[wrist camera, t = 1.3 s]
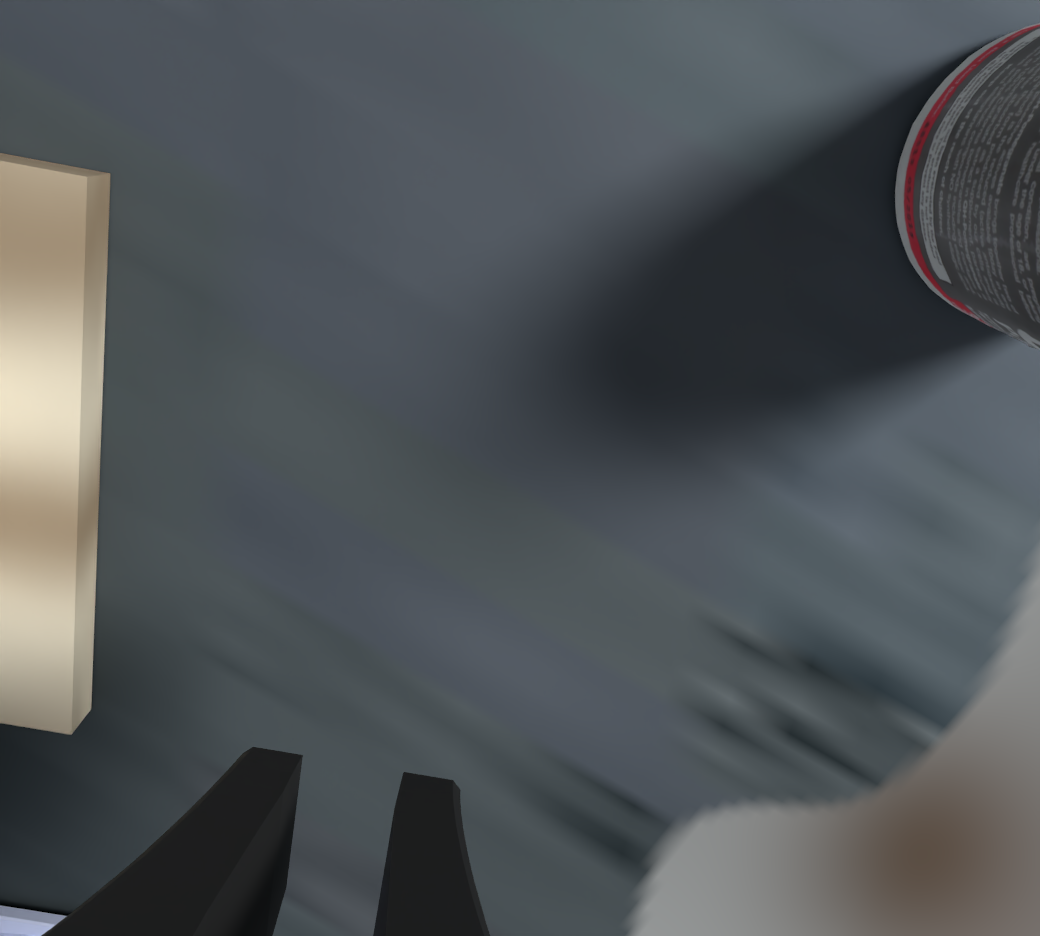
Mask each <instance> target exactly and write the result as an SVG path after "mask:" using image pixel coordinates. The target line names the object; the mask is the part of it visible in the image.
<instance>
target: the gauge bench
mask: <svg viewBox="0 0 1040 936" xmlns="http://www.w3.org/2000/svg"><path fill="white" fill-rule="evenodd" d="M109 199H110V173H105V172H99V171H94V170H89V169H83V168H78V167H72V166H67V165H62V164H56V163H51V162H46V161H40V160H35V159H30V158H24V157H19V156H14V155H8V154H3V153H0V723H3V724H9V725H15V726H22V727H28V728H34V729H40V730H46V731H52V732H58V733H64V734H70V735H72V734H73V732H74V731H75V730H76V728H77V727H78V726H79V724H80V723H81V722H82V720H83V719H84V718H85V716H86V715H87V714H88V713H89V711H90V710H91V702H92V674H93V646H94V618H95V590H96V563H97V535H98V507H99V479H100V451H101V423H102V395H103V367H104V339H105V311H106V283H107V255H108V227H109Z"/></svg>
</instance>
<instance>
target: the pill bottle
mask: <svg viewBox="0 0 1040 936" xmlns="http://www.w3.org/2000/svg"><path fill="white" fill-rule="evenodd" d="M895 209H896V219H897V226H898V229H899V233H900V236H901V240H902V243H903V246H904V248H905V251H906V253H907V256H908V258H909V260H910V262H911V264H912V265H913V267H914V268H915V270H916V271H917V273H918V274H919V276H920V277H921V278H922V279H923V281H924V282H925V283H926V284H927V286H928V287H929V288H930V289H931V290H932V291H933V292H935V293H936V294H937V295H938V296H940V297H941V298H942V299H944V300H945V301H946V302H948V303H949V304H950V305H952V306H953V307H955V308H957V309H958V310H960V311H962V312H964V313H966V314H968V315H969V316H971V317H973V318H975V319H977V320H979V321H981V322H982V323H984V324H986V325H988V326H990V327H992V328H994V329H996V330H999V331H1001V332H1003V333H1005V334H1007V335H1009V336H1011V337H1013V338H1015V339H1017V340H1020V341H1021V342H1023V343H1024V344H1026V345H1028V346H1029V347H1032V348H1035V349H1038V350H1040V23H1038V24H1035V25H1031V26H1028V27H1024V28H1022V29H1019V30H1017V31H1014V32H1011V33H1009V34H1007V35H1005V36H1003V37H1000V38H998V39H996V40H994V41H993V42H991V43H989V44H987V45H985V46H984V47H982V48H981V49H979V50H978V51H976V52H975V53H973V54H972V55H970V56H969V57H968V58H967V59H966V60H965V61H964V62H962V63H961V64H960V65H959V66H958V67H957V68H956V69H955V70H954V71H953V72H952V73H951V74H950V75H949V76H948V77H947V78H946V79H945V80H944V81H943V82H942V83H941V85H940V86H939V87H938V88H937V89H936V91H935V92H934V93H933V94H932V95H931V97H930V98H929V99H928V101H927V102H926V104H925V106H924V107H923V109H922V110H921V112H920V113H919V115H918V117H917V118H916V120H915V121H914V123H913V125H912V127H911V130H910V133H909V135H908V138H907V140H906V143H905V146H904V149H903V152H902V155H901V157H900V162H899V166H898V170H897V179H896V188H895Z"/></svg>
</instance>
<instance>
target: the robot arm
mask: <svg viewBox="0 0 1040 936" xmlns="http://www.w3.org/2000/svg"><path fill="white" fill-rule="evenodd" d="M302 756H303V755H298V754H292V753H286V752H280V751H274V750H268V749H262V748H256V747H252V748H251V749H249V750H247V751H246V752H244V753H243V754H242V755H241V756H240V757H239V758H238V759H237V761H236V762H235V763H234V764H233V765H232V766H231V767H230V768H229V769H228V771H227V772H226V773H225V774H224V775H223V776H222V777H221V778H220V779H219V780H218V781H217V782H216V783H215V784H214V785H213V786H212V787H211V788H210V790H209V791H208V792H207V793H206V794H205V795H204V796H203V797H202V798H201V799H200V800H199V801H198V802H197V803H196V804H195V805H194V806H193V807H192V808H191V809H190V810H189V811H188V812H187V813H186V814H184V815H183V816H182V817H181V818H180V819H179V820H178V821H177V822H176V823H175V824H174V825H173V826H172V827H171V828H170V829H168V830H167V831H166V832H165V833H164V834H163V835H162V836H161V837H160V838H159V839H158V840H157V841H156V842H154V843H153V844H152V845H151V846H150V847H149V848H148V849H147V850H146V851H145V852H144V853H143V854H141V855H140V856H139V857H138V858H137V859H136V860H135V861H134V862H132V863H131V864H130V865H129V866H128V867H126V868H125V869H124V870H123V871H122V872H120V873H119V874H118V875H117V876H116V877H114V878H113V879H112V880H111V881H110V882H108V883H107V884H106V885H105V886H104V887H102V888H101V889H100V890H99V891H98V892H96V893H95V894H94V895H93V896H92V897H90V898H89V899H88V900H87V901H86V902H84V903H83V904H82V905H81V906H79V907H78V908H77V909H76V910H74V911H73V912H72V913H71V914H69V915H68V916H64V915H58V914H51V913H45V912H39V911H33V910H26V909H20V908H14V907H8V906H1V905H0V936H272V935H273V932H274V928H275V925H276V921H277V918H278V914H279V911H280V907H281V904H282V900H283V897H284V893H285V890H286V885H287V877H288V869H289V861H290V853H291V845H292V837H293V829H294V821H295V812H296V804H297V796H298V788H299V780H300V772H301V764H302ZM373 936H490V934H489V931H488V928H487V925H486V922H485V918H484V914H483V911H482V907H481V904H480V900H479V897H478V893H477V890H476V886H475V883H474V879H473V875H472V870H471V866H470V862H469V857H468V852H467V847H466V842H465V837H464V831H463V825H462V817H461V805H460V789H459V788H458V786H457V785H456V784H455V782H454V781H453V780H448V779H442V778H436V777H430V776H424V775H418V774H412V773H406V772H404V773H403V777H402V781H401V785H400V789H399V793H398V797H397V801H396V805H395V809H394V815H393V821H392V827H391V833H390V839H389V845H388V851H387V857H386V863H385V869H384V875H383V881H382V887H381V893H380V899H379V905H378V911H377V917H376V923H375V929H374V935H373Z"/></svg>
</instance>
